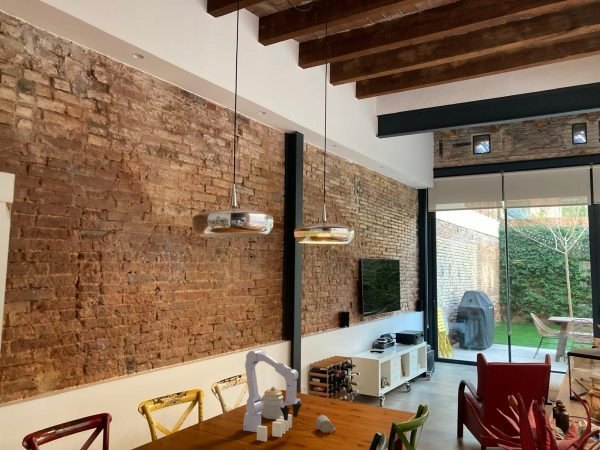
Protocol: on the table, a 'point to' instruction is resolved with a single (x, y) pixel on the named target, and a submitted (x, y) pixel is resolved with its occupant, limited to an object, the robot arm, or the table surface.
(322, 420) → the ceramic mug
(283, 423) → the tile
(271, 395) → the jar
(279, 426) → the tile
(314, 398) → the table surface
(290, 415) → the tile
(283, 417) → the tile
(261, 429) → the tile
